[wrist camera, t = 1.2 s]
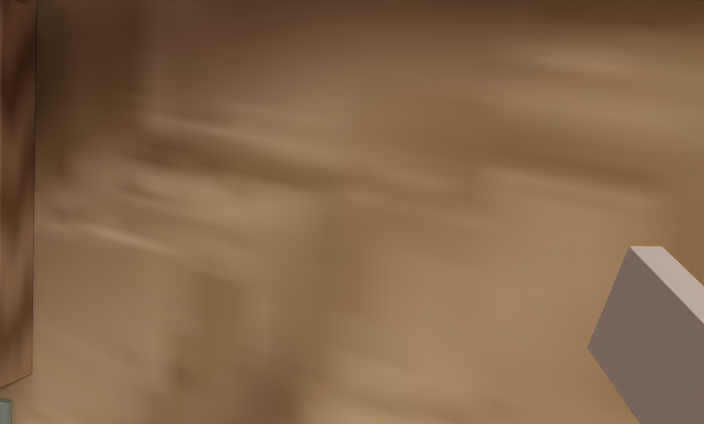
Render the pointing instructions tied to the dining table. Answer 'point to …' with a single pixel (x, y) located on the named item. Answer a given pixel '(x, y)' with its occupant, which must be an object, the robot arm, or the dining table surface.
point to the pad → (5, 412)
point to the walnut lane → (16, 186)
